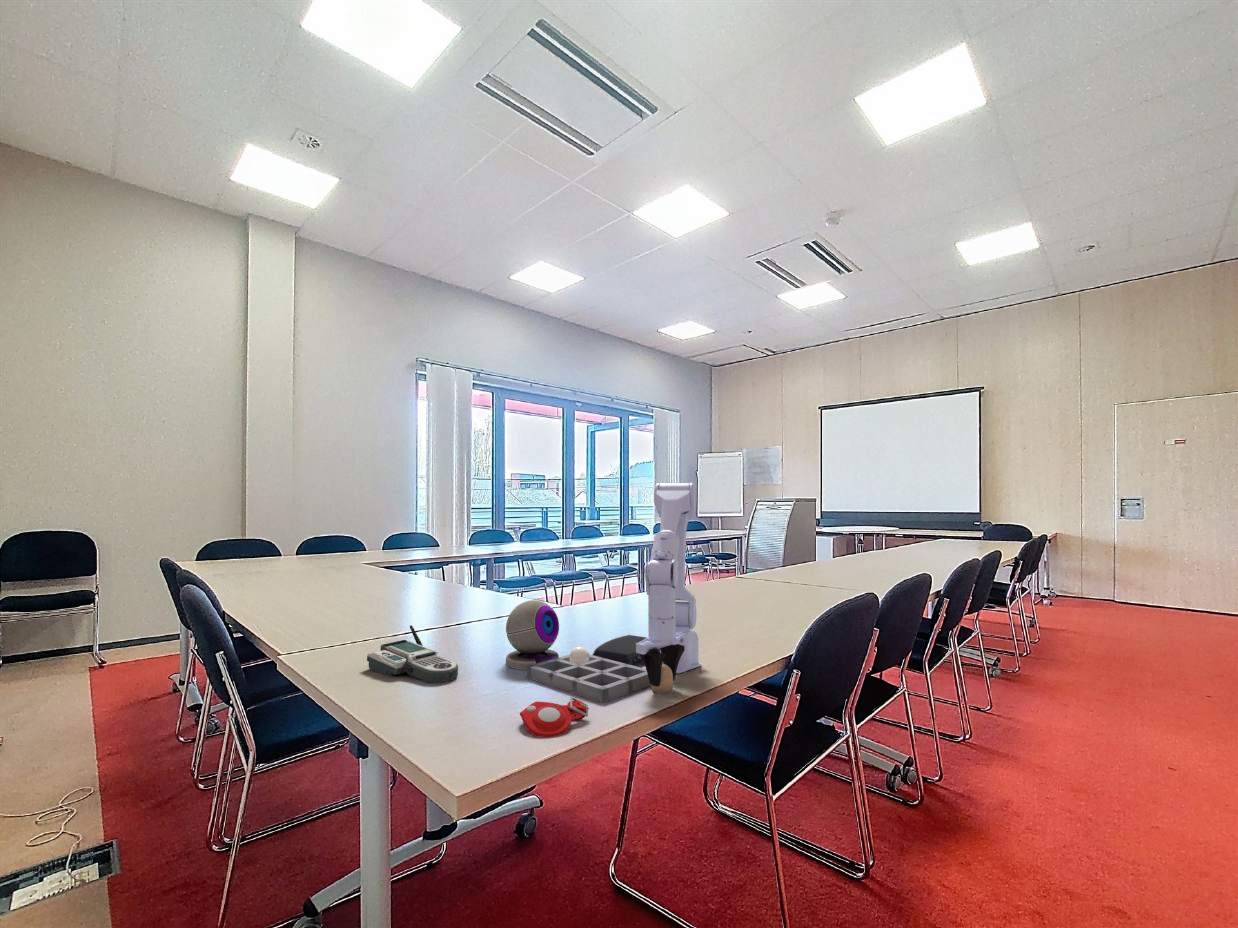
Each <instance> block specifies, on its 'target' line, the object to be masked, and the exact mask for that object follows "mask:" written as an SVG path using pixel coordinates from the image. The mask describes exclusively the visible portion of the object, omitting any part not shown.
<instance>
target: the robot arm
mask: <svg viewBox="0 0 1238 928" xmlns="http://www.w3.org/2000/svg"><path fill="white" fill-rule="evenodd" d="M653 501H654V505H655V507H656V508H655V509H656V513H657V514H658V517H659V518H660V526H659V527H660V528H659V531H658V532H657V533H656V534H655V535H654V537H653V542H652V547H651V554H650V559H649V561H646V564H645V567H644V580H645V581H644V582H645V586H646V587H645V588H646V589H645V590H646V595H647V597H648V599H647V600H648V601H647V603H648V604H647V606H648V609H647V610H648V611H647V612H648V619H647V620H648V624H647V625H648V627H647V628H648V629H647V630H648V636H647V638H646V639H644V640H643V641H641V642H639V643H636V653H639V655H640V657H641V658H642V660H643V662H644V665H643V666H644V667H645V669H646V670H647V674H648V678H649V682H650V685H649V686H652V685H653V686H657V687H658V686H660V681H661V668H662V664H665V665H667V666H669V667H670V668H671V670H672V673H673V682H674V681H675V678H676V674H683V673H684V672H688V671H689V670H693V669H695V668H698V667H701V666H702V665H703V663H701V662H700V661H699V637H698V636H699V635H698V634H697V632H696V630H695V629H694V628H695V627H696V625H697V601H696V600H697V599H696V597H695V595H694V594H693V593H692V592H691V591H689V590H688V589H687V588H686V582H685V581H686V557H687V556H686V555H687V554H686V552H687V551H686V549H687V548H686V547H687V545H686V544H687V529H688V524H689V521H690V520H692V519H695V518H696V513H697V487H696V484H695V483H694V482H690V483H689V482H685V483H684V482H683V483H679V482H677V483H674V482H673V483H669V482H667V483H662V482H661V483H660V482H658V483H656V484H655V485H654V489H653ZM659 648H660V653H659V651H658V649H659Z"/></svg>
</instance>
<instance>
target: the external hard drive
mask: <svg viewBox="0 0 1238 928" xmlns="http://www.w3.org/2000/svg"><path fill="white" fill-rule="evenodd" d="M647 637H648V636H647ZM647 637H646V636H639V635H638V636H637V635H634V634H633V635H632V634H627V635H622V636H619V637H615V638H612V639H610V640H607V641H605V642H603V643H602V644H600V645H598V646H597V647H596V648H594V651H593V653H592V655H594V656H598V657H601V658H605V659H609V660H613V661H617V662H621V663H625V664H629V665H632V666H636V667H642V666H645V665H644V662H643V660H642V658H641V657H640V655H639V653H636V643H639V642H641V641H643V640H644V639H646V638H647ZM658 651H659V653H660V648H659V649H658Z"/></svg>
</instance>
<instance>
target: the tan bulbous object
mask: <svg viewBox="0 0 1238 928" xmlns="http://www.w3.org/2000/svg"><path fill="white" fill-rule="evenodd" d="M673 691H674V681H673V673H672V670H671V668H670V667H669V666H667V665H665V664H662V668H661V681H660V686H658V687H657V686H653V685H651V692H653V693H654V692H655V694H659V695H668V694H671V693H673Z"/></svg>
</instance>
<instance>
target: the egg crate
mask: <svg viewBox="0 0 1238 928" xmlns="http://www.w3.org/2000/svg"><path fill="white" fill-rule="evenodd" d="M588 655H589V661H588V662H584V663H581V664H576V663H573V662H570V654H567V655H563V656H559V658H555V659H552V660H548V661H544V662H540V663H537V664H533V665H529V666H527V670H526V678H527V679H529V680H534V681H537V682H539V683H542V684H544V685H545V684H546V685H547V686H551V687H555V688H558V689H560V690H564V691H566V692H569V693H572V694H575V695H578V696H582V697H584V698H587V699H591V700H593V701H597V702H599V703H603V704H604V703H606V702H609V701H611V700H614V699H617V698H619V697H621V696H625V695H627V694H630V693H632V692H636V691H639V690H641V689H643V688H646V687H649V686H651V685H650V682H649V678H648V674H647V670H646V668H643V667H641V666H639V667H636V666H632V665H629V664H625V663H621V662H617V661H613V660H609V659H605V658H601V657H598V656H594V655H593V654H590V653H588Z"/></svg>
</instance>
